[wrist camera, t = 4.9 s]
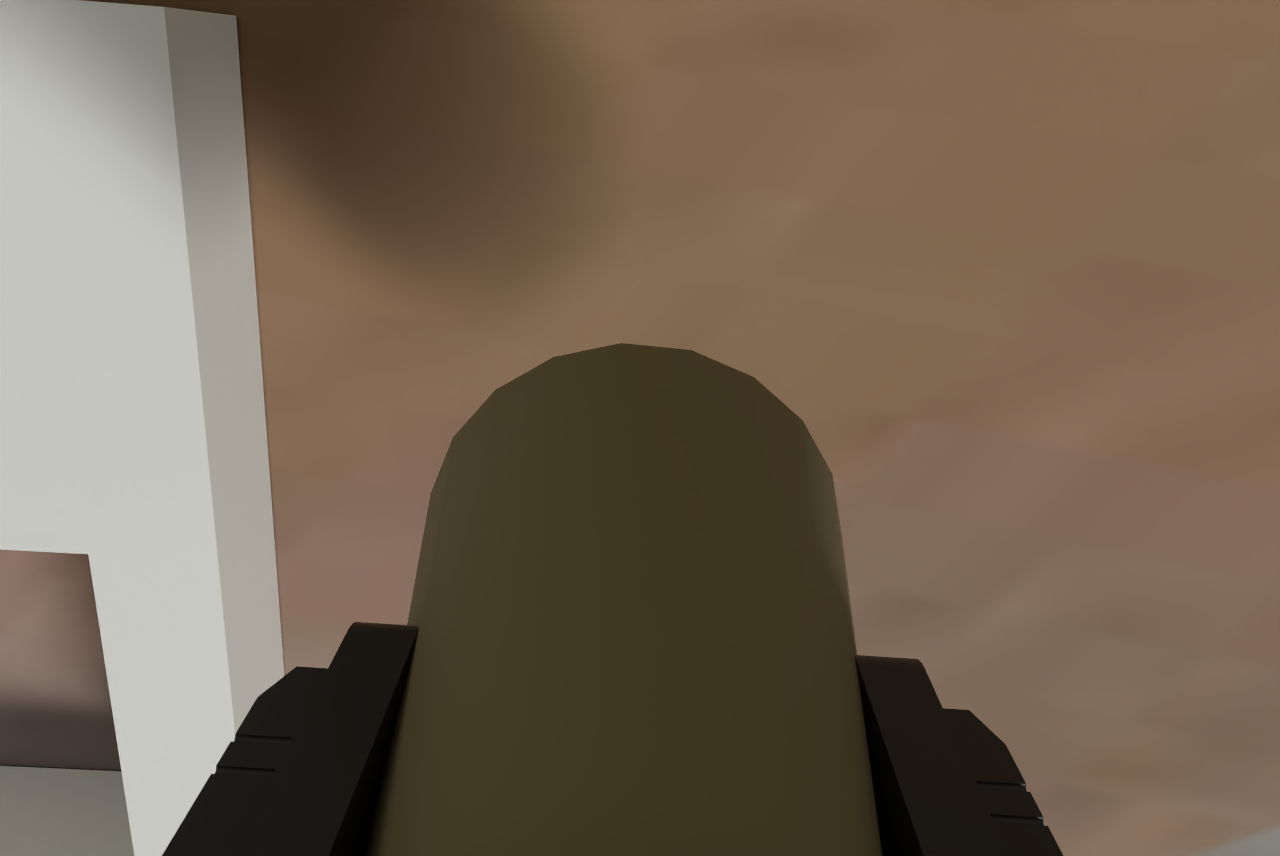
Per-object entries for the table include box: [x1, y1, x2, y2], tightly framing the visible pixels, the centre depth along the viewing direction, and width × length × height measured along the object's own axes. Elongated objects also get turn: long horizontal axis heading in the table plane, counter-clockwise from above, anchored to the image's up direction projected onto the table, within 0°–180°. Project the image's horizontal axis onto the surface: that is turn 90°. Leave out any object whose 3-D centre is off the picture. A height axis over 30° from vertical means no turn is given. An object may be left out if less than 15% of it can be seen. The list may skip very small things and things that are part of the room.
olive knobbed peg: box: [366, 343, 883, 856], centre depth 9 cm, size 6×6×11 cm
